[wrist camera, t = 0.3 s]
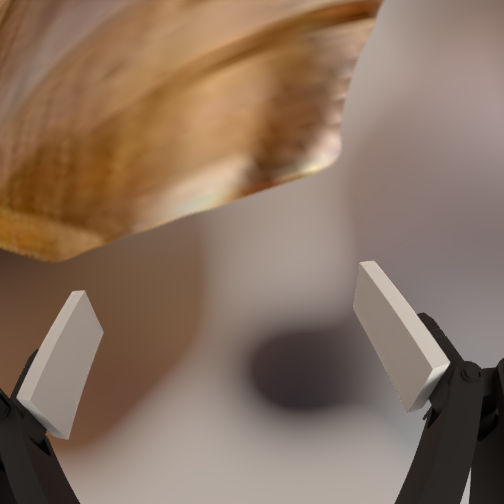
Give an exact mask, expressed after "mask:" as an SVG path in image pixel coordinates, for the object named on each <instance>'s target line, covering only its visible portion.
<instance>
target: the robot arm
mask: <svg viewBox="0 0 504 504" xmlns="http://www.w3.org/2000/svg"><path fill="white" fill-rule="evenodd" d="M353 309H354V311H355V313H356V315H357V317H358V319H359V320H360V322H361V324H362V326H363V328H364V330H365V332H366V333H367V335H368V337H369V339H370V341H371V343H372V345H373V346H374V348H375V350H376V352H377V354H378V356H379V358H380V360H381V362H382V364H383V366H384V368H385V370H386V372H387V374H388V376H389V377H390V380H391V382H392V383H393V386H394V388H395V389H396V392H397V394H398V396H399V398H400V400H401V402H402V404H403V406H404V408H405V410H406V412H407V413H409V412H412V411H415V410H417V409H420V408H422V407H423V406H424V405H425V403H426V402H427V400H428V399H429V400H430V402H431V404H432V406H431V407H430V408H429V410H428V411H427V413H426V414H425V415H424V417H423V420H425V419H426V418H427V420H426V423H425V426H424V430H423V433H422V436H421V439H420V442H419V445H418V448H417V451H416V454H415V456H414V459H413V462H412V464H411V467H410V469H409V472H408V474H407V477H406V479H405V482H404V484H403V486H402V489H401V491H400V493H399V495H398V497H397V499H396V502H395V504H460V502H461V499H462V496H463V492H464V489H465V486H466V482H467V479H468V475H469V472H470V468H471V483H470V496H469V504H504V358H503V359H502V360H500V362H499V363H498V365H497V366H496V367H495V368H485V369H481V368H480V367H479V366H478V365H477V364H475V363H473V362H471V361H464V360H463V359H462V357H461V356H460V355H459V353H458V352H457V351H456V349H455V348H454V346H453V345H452V344H451V342H450V341H449V339H448V338H447V337H446V336H445V334H444V333H443V331H442V330H441V329H440V327H439V326H438V325H437V323H436V322H435V321H434V319H432V318H431V317H429V316H428V315H427V314H425V313H420V314H416V313H415V312H414V311H413V309H412V308H411V307H410V305H409V304H408V303H407V301H406V300H405V299H404V297H403V296H402V295H401V294H400V292H399V291H398V290H397V288H396V287H395V286H394V285H393V283H392V282H391V281H390V280H389V278H388V277H387V276H386V275H385V274H384V272H383V271H382V270H381V269H380V267H379V266H378V265H377V264H376V263H375V262H374V261H367V262H360V264H359V271H358V278H357V285H356V291H355V298H354V304H353ZM103 333H104V332H103V330H102V328H101V326H100V324H99V322H98V319H97V317H96V315H95V313H94V311H93V308H92V306H91V304H90V301H89V299H88V297H87V294H86V292H85V290H84V291H73V292H72V293H71V295H70V297H69V298H68V300H67V301H66V303H65V304H64V306H63V308H62V309H61V311H60V313H59V315H58V316H57V318H56V320H55V321H54V323H53V325H52V327H51V329H50V330H49V332H48V334H47V336H46V338H45V339H44V341H43V343H42V345H41V347H40V349H39V350H38V349H37V350H36V351H35V352H34V353H33V354H32V355H31V356H30V357H29V359H28V361H27V363H26V365H25V368H24V369H23V371H22V375H20V377H19V379H18V381H17V383H16V386H15V388H14V390H13V392H12V394H11V397H10V399H9V398H8V397H7V395H6V394H5V393H4V392H3V391H2V389H1V388H0V504H80V502H79V501H78V499H77V497H76V496H75V494H74V492H73V490H72V488H71V486H70V484H69V483H68V481H67V479H66V477H65V474H64V472H63V471H62V468H61V466H60V464H59V462H58V460H57V457H56V455H55V453H54V451H53V448H52V446H51V444H50V441H49V439H48V438H47V436H46V435H45V433H46V430H48V431H49V432H50V433H51V434H52V435H53V436H54V437H58V438H63V439H69V435H70V431H71V427H72V424H73V420H74V417H75V413H76V410H77V407H78V403H79V400H80V397H81V394H82V391H83V388H84V385H85V382H86V379H87V376H88V373H89V370H90V367H91V364H92V362H93V359H94V356H95V354H96V351H97V348H98V345H99V343H100V340H101V338H102V335H103Z"/></svg>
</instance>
